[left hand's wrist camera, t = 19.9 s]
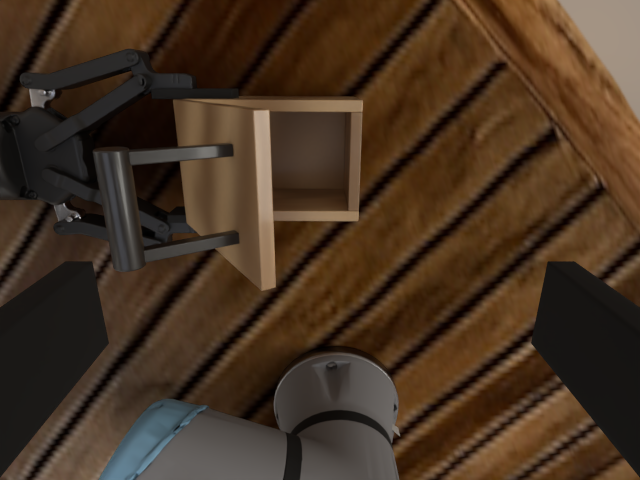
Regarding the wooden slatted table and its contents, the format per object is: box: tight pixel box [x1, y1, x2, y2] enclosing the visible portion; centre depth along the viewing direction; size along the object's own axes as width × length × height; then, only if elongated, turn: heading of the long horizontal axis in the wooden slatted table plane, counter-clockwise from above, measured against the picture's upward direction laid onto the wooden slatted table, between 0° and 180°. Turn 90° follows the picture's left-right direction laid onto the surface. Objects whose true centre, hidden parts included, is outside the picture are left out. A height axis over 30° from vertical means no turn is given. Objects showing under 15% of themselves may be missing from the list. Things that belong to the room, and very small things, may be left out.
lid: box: [93, 99, 276, 291], centre depth 26 cm, size 14×10×8 cm
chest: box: [185, 96, 363, 221], centre depth 38 cm, size 14×10×9 cm
